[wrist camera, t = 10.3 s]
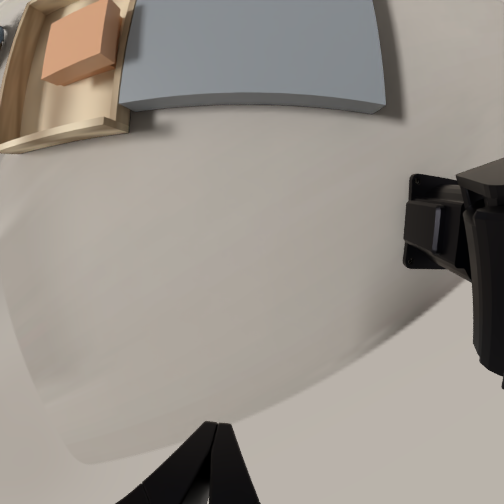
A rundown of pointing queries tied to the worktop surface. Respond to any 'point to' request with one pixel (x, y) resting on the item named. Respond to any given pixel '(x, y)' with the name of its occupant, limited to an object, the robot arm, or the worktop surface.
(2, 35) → the sculpture
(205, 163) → the worktop surface
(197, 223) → the worktop surface
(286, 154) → the worktop surface
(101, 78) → the tray
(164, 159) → the worktop surface
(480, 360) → the robot arm
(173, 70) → the slate board
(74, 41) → the tile near
